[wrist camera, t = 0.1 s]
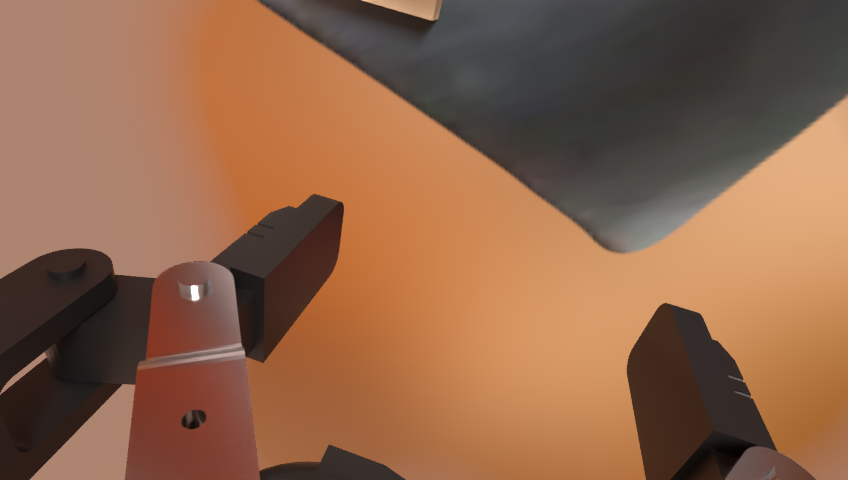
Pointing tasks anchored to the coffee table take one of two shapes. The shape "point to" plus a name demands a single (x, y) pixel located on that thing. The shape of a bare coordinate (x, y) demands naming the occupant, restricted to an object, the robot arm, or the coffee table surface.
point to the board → (413, 7)
